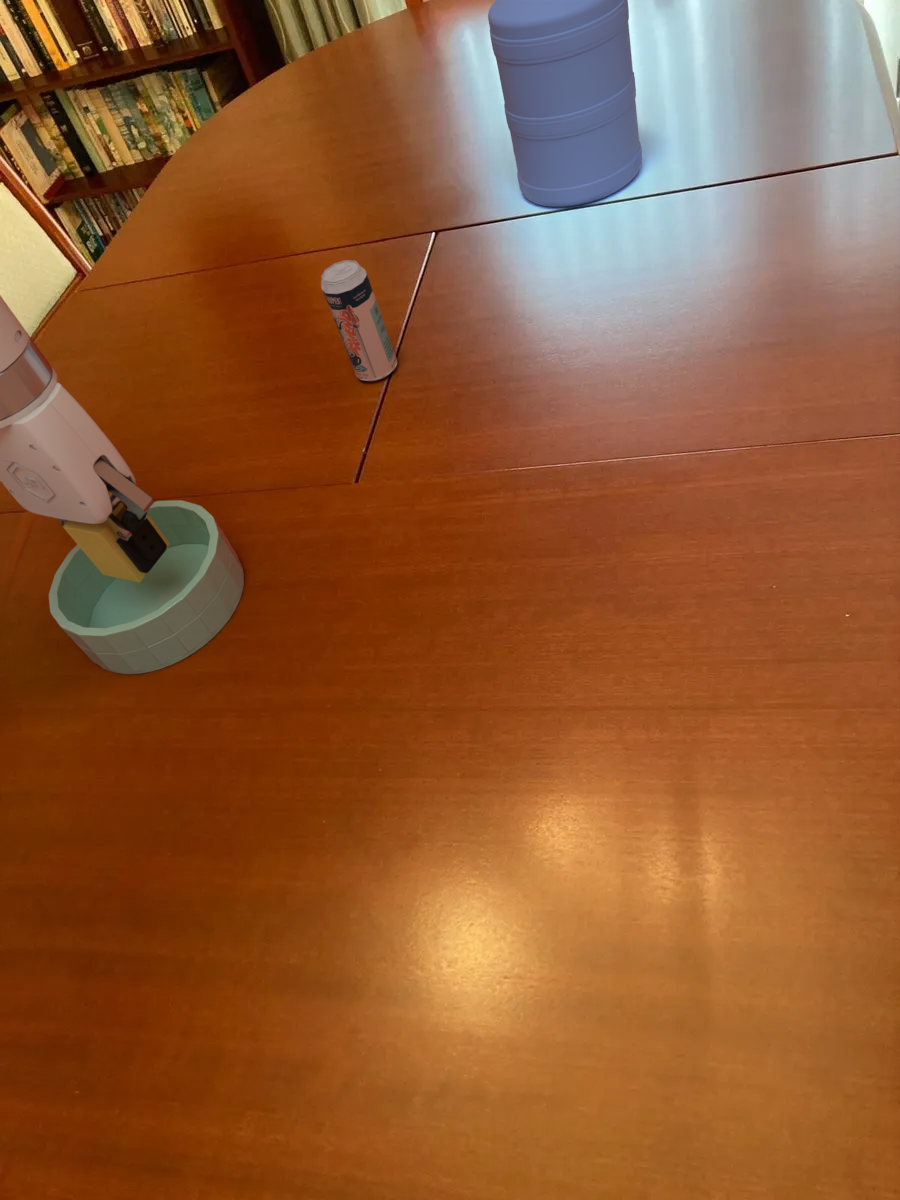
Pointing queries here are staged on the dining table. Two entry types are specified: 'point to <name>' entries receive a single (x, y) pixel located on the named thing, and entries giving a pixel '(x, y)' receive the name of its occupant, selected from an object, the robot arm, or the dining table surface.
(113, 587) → the bowl
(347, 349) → the beer can
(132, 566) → the sponge
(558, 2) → the water jug
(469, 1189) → the dining table surface
